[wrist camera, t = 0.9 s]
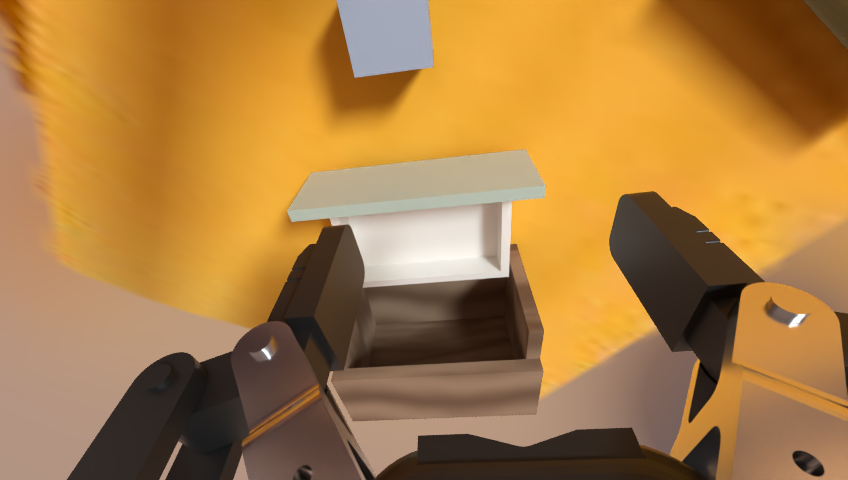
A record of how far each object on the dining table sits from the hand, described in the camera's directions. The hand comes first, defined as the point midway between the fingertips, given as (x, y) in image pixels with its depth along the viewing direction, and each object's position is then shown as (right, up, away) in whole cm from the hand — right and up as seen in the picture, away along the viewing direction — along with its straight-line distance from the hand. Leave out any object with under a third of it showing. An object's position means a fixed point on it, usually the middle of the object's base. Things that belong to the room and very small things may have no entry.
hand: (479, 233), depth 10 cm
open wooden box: (0, -6, +31) cm, 31 cm away
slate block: (-4, +16, +14) cm, 21 cm away
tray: (-2, +2, +23) cm, 23 cm away
